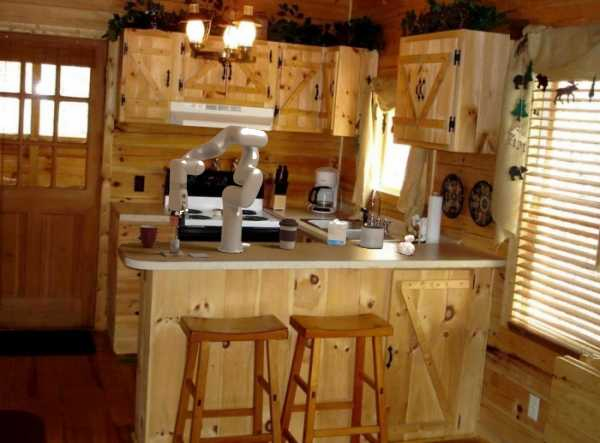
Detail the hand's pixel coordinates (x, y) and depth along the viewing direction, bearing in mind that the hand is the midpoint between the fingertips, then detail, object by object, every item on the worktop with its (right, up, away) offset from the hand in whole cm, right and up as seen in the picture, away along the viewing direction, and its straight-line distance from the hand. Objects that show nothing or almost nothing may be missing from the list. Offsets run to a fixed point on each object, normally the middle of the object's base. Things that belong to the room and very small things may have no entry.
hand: (177, 224), depth 375 cm
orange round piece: (0, 0, 0) cm, 0 cm away
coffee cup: (+50, -12, +43) cm, 67 cm away
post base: (-2, -14, +1) cm, 14 cm away
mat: (+10, -14, +4) cm, 18 cm away
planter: (+95, -13, +67) cm, 116 cm away
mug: (-16, -11, +15) cm, 25 cm away
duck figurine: (+112, -16, +52) cm, 124 cm away
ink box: (+76, -11, +69) cm, 103 cm away
